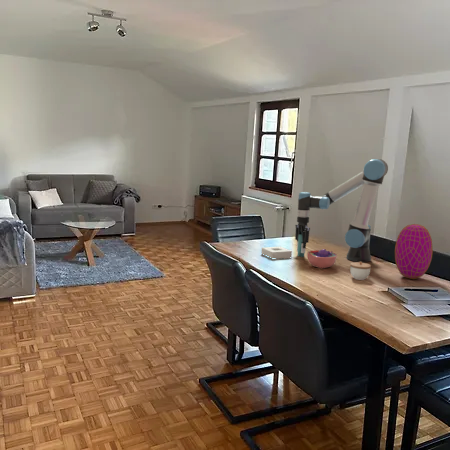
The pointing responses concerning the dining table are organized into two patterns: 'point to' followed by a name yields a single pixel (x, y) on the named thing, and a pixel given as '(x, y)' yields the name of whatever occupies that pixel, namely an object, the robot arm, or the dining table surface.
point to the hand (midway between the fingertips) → (301, 252)
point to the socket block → (276, 252)
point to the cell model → (321, 258)
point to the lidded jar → (360, 270)
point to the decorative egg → (413, 251)
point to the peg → (300, 246)
